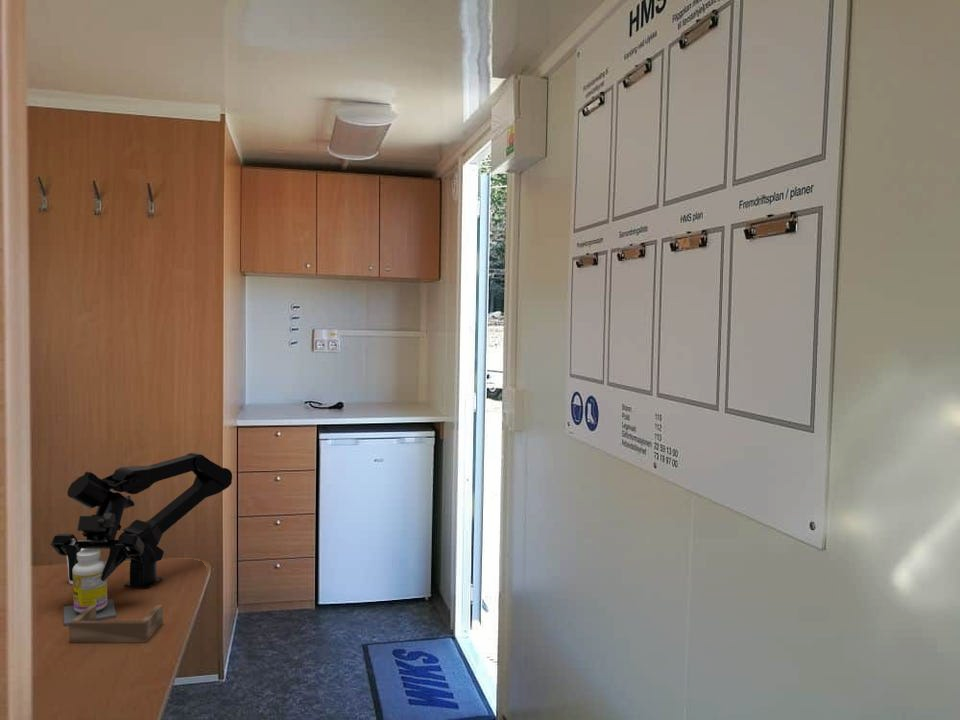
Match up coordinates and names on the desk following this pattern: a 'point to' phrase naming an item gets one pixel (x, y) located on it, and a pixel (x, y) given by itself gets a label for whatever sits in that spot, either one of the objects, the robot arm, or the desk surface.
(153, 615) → the frame
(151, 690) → the desk surface
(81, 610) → the supplement bottle
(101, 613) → the charcoal mat
